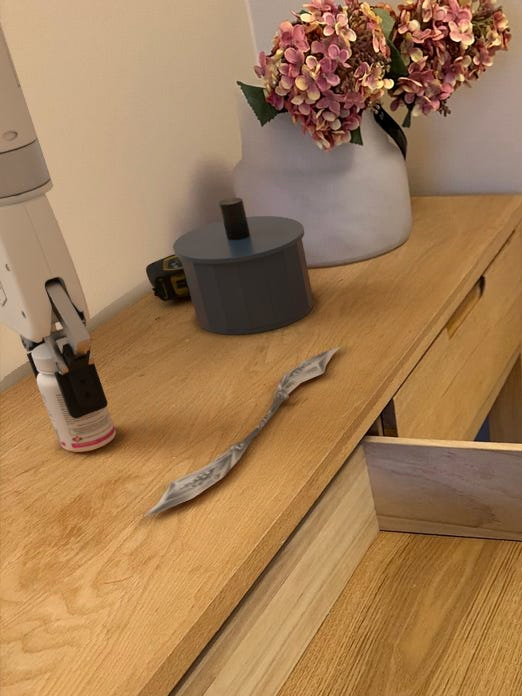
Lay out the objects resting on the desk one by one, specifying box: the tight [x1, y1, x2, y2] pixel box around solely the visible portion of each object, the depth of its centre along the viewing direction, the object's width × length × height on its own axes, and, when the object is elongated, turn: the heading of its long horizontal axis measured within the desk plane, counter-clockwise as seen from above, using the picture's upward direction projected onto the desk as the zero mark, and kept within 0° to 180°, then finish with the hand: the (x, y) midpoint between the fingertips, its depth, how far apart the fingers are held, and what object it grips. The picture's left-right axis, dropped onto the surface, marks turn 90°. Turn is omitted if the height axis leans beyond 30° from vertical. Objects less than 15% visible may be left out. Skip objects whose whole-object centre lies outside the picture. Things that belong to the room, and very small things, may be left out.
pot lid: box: [172, 197, 305, 264], centre depth 102 cm, size 14×14×5 cm
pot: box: [181, 238, 314, 336], centre depth 105 cm, size 13×13×8 cm
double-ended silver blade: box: [143, 345, 342, 517], centre depth 86 cm, size 32×1×5 cm
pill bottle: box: [31, 338, 117, 453], centre depth 83 cm, size 5×5×8 cm
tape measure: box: [145, 253, 191, 302], centre depth 113 cm, size 7×7×4 cm
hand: (74, 399), depth 84 cm, fingers closed on pill bottle, 4 cm apart
